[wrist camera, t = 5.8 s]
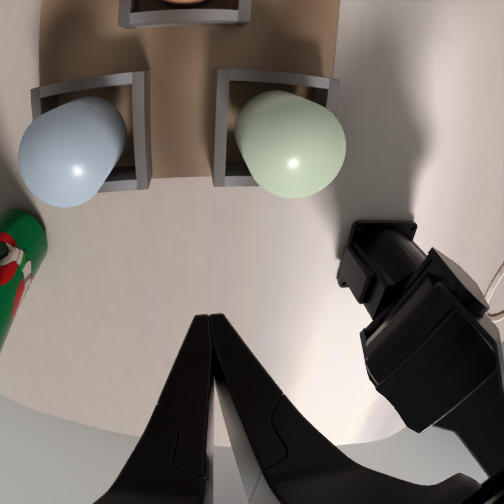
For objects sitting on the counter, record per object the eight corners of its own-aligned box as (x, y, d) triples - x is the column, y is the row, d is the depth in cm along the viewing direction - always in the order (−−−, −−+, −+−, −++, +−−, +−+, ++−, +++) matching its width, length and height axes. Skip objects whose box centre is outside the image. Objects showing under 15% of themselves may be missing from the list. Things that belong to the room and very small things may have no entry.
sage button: (319, 94, 15) (353, 106, 12) (309, 169, 18) (337, 199, 14) (236, 88, 14) (249, 96, 11) (232, 168, 17) (243, 198, 14)
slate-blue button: (125, 91, 13) (104, 102, 10) (129, 171, 16) (113, 204, 13) (48, 103, 13) (12, 119, 9) (57, 178, 15) (29, 211, 12)
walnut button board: (336, -53, 12) (360, -67, 9) (313, 171, 21) (332, 192, 18) (55, -50, 9) (34, -63, 6) (57, 181, 18) (38, 203, 15)
